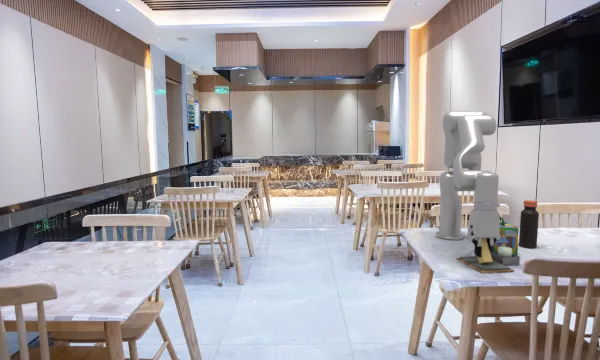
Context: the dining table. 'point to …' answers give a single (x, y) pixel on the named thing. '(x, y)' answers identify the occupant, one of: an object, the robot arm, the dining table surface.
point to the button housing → (505, 259)
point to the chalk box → (507, 237)
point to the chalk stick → (484, 253)
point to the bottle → (529, 225)
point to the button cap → (505, 251)
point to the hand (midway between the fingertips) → (482, 255)
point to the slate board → (484, 265)
